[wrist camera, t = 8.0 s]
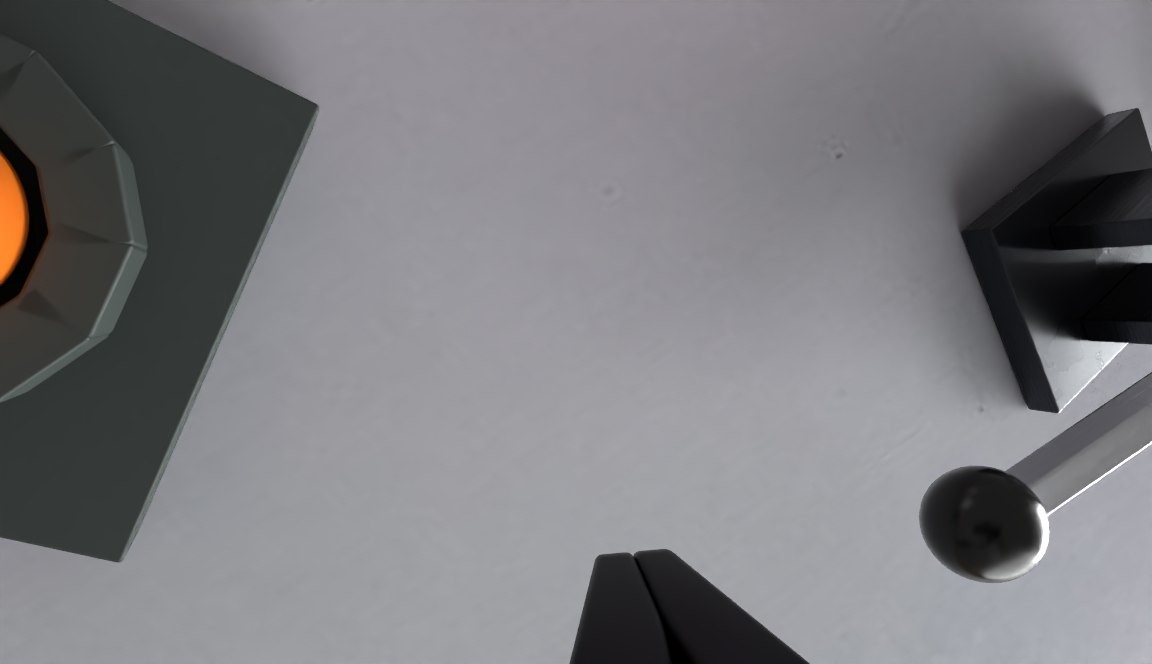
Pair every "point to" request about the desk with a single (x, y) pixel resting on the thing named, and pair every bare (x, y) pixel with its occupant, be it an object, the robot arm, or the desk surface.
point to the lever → (1029, 491)
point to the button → (11, 219)
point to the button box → (121, 254)
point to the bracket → (1072, 261)
